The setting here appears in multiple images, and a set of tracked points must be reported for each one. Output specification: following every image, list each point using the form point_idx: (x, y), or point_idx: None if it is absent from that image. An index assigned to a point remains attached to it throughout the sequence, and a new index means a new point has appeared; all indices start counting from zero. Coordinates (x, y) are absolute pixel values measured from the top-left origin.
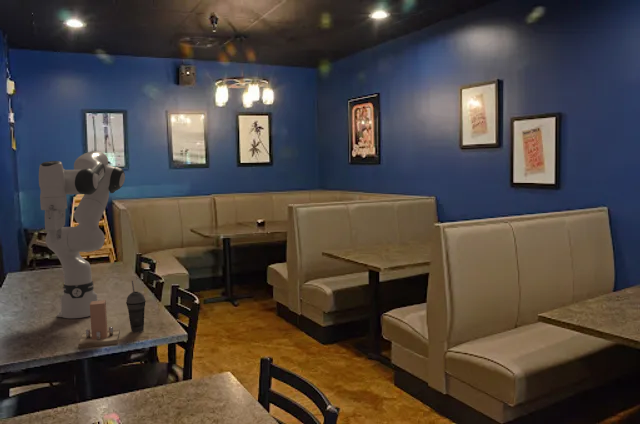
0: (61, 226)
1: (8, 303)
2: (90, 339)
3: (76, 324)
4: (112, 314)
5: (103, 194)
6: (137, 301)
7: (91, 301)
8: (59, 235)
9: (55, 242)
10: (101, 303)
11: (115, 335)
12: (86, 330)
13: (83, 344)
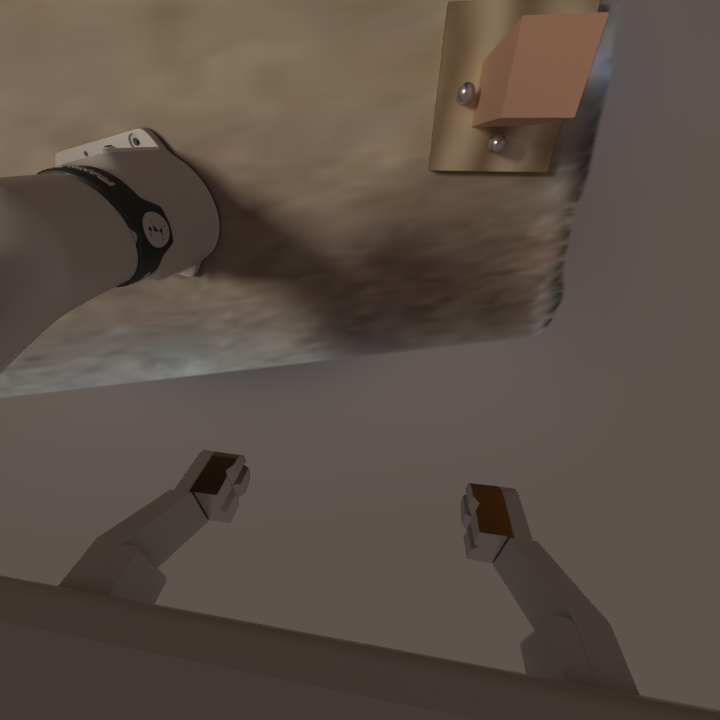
0: (231, 657)
1: (85, 383)
2: (518, 132)
3: (278, 210)
4: (175, 81)
5: None
6: None
7: (503, 115)
8: (223, 497)
9: (512, 492)
10: (598, 35)
11: (530, 14)
12: (503, 148)
13: (551, 154)
